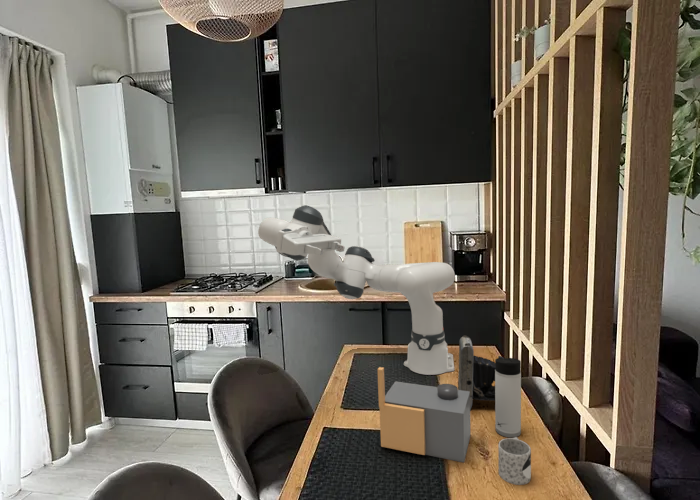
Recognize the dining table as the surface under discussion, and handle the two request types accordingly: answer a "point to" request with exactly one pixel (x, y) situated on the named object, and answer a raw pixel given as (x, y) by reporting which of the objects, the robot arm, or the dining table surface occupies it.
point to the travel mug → (508, 397)
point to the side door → (400, 423)
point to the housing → (438, 416)
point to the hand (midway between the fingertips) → (332, 250)
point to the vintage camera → (475, 373)
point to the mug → (514, 461)
